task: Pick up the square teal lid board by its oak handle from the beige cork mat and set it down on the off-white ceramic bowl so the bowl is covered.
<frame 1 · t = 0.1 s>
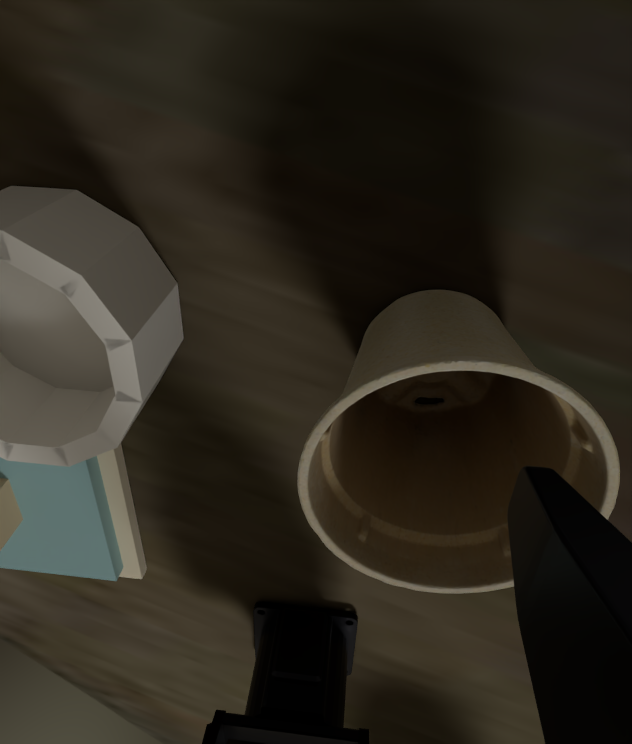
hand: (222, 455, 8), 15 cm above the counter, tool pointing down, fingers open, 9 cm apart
lid: (0, 483, 30), point 1 cm above the counter, touching mat
flower pot: (430, 349, 24), on the counter
mat: (8, 473, 31), on the counter
bowl: (70, 303, 24), on the counter
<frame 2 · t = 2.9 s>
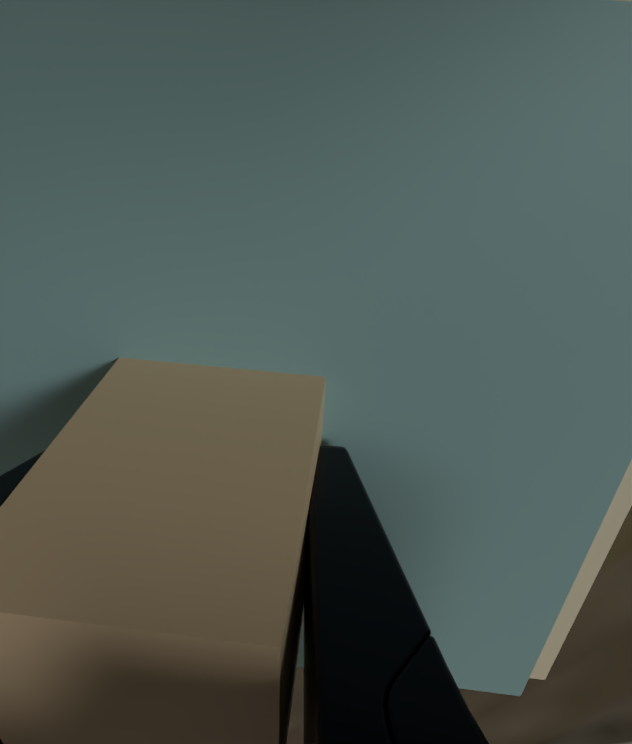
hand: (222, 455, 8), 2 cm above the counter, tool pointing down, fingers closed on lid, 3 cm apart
lid: (240, 409, 9), point 1 cm above the counter, touching gripper, mat
mat: (249, 384, 10), on the counter
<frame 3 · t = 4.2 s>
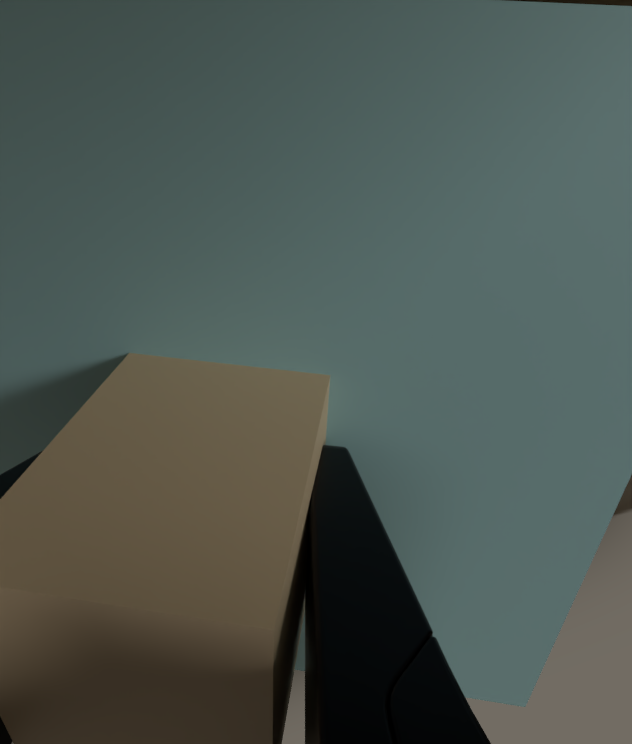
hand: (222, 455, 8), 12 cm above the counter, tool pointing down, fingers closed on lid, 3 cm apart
lid: (247, 408, 10), point 11 cm above the counter, touching gripper
when the fingers open (7 cm above the counter, at t = 5.8 s): lid drops 1 cm, resting on bowl.
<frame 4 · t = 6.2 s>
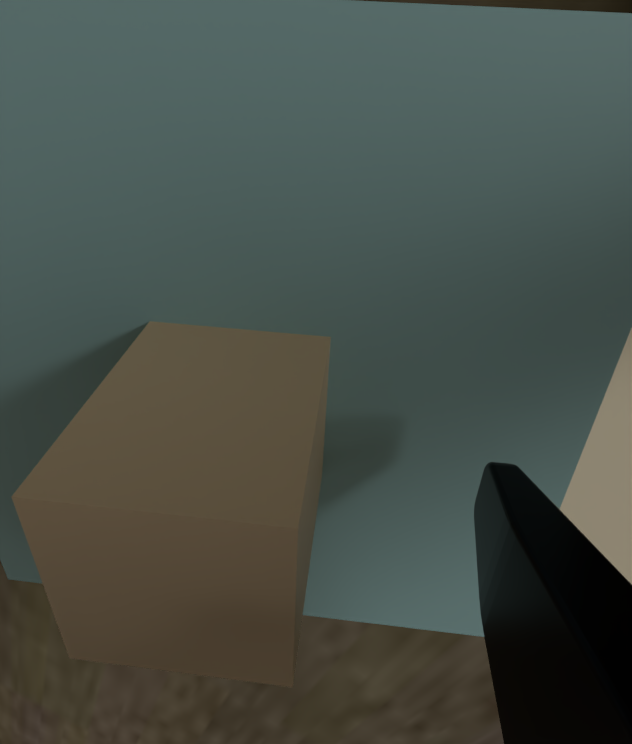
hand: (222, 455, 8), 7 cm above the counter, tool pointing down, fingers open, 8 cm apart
lid: (253, 373, 11), point 5 cm above the counter, touching bowl
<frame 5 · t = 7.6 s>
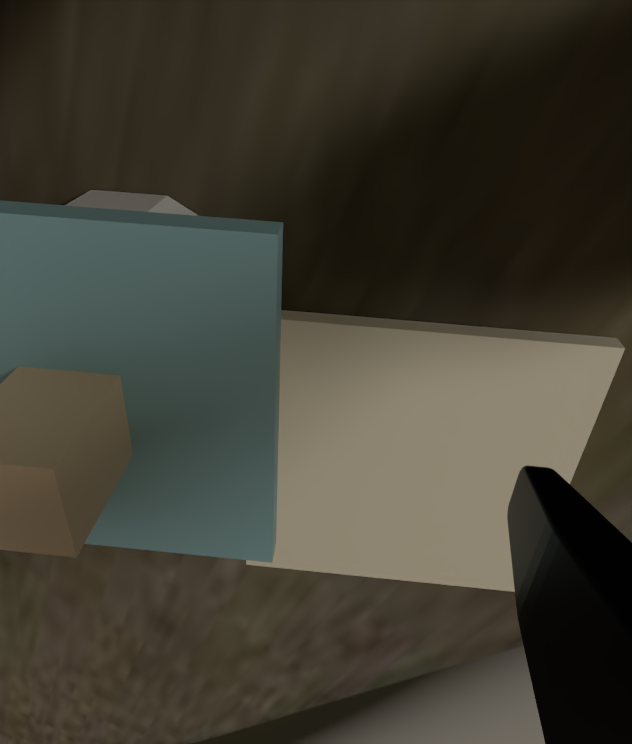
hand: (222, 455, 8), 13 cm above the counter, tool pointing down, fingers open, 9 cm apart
lid: (92, 394, 17), point 5 cm above the counter, touching bowl
mat: (402, 462, 24), on the counter
bowl: (145, 321, 22), on the counter
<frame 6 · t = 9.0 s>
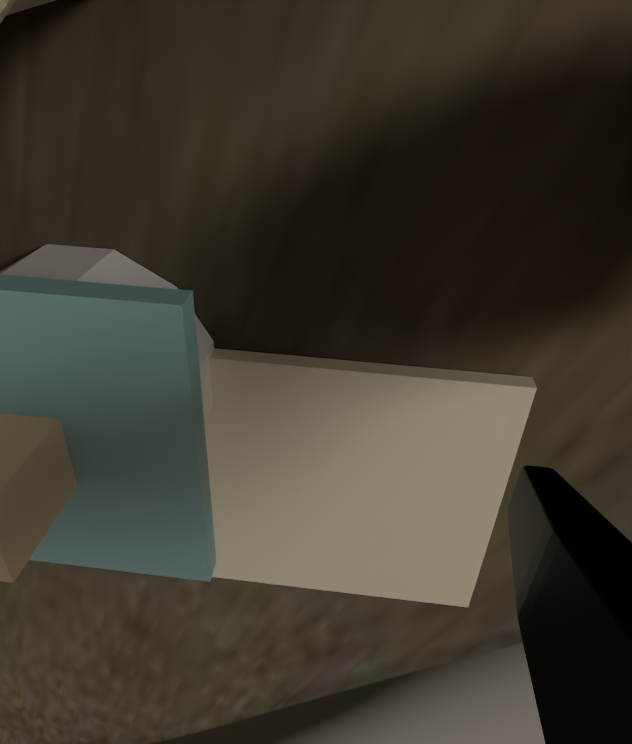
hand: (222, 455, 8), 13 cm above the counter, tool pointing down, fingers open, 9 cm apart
lid: (42, 431, 20), point 5 cm above the counter, touching bowl
mat: (345, 485, 26), on the counter
bowl: (102, 358, 24), on the counter
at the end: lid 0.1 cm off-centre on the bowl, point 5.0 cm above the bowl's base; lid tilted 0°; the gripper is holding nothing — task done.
